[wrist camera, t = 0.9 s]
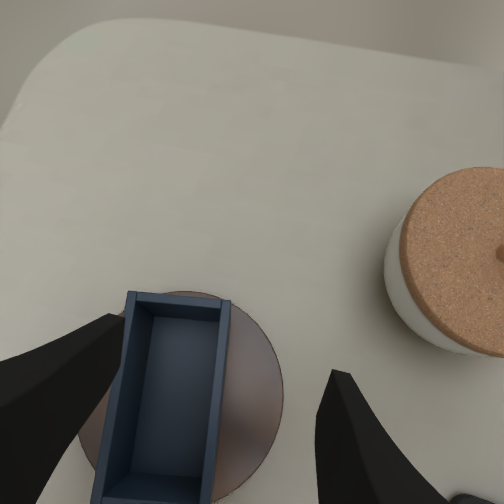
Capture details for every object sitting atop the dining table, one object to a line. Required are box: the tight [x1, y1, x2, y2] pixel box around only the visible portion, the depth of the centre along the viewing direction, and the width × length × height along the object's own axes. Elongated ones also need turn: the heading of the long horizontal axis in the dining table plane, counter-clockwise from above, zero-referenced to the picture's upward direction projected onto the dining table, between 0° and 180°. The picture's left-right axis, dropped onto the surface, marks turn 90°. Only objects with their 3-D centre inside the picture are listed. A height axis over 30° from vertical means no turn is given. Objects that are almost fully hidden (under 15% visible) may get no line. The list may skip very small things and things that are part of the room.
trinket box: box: [384, 167, 504, 358], centre depth 26 cm, size 11×11×9 cm
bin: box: [90, 291, 231, 504], centre depth 23 cm, size 11×5×6 cm, turn 175°
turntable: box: [78, 291, 284, 503], centre depth 27 cm, size 13×13×1 cm
